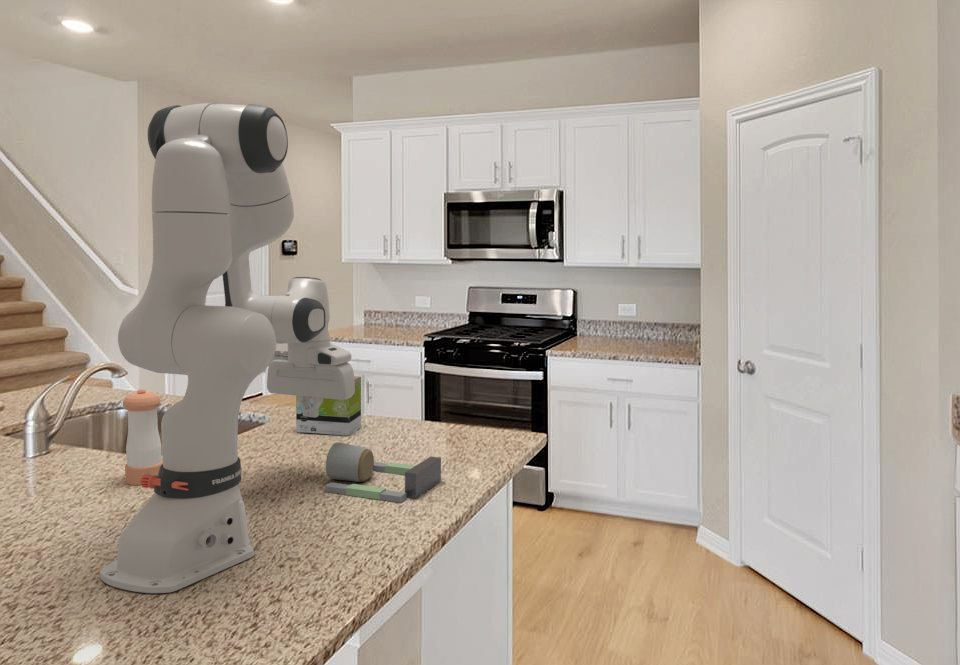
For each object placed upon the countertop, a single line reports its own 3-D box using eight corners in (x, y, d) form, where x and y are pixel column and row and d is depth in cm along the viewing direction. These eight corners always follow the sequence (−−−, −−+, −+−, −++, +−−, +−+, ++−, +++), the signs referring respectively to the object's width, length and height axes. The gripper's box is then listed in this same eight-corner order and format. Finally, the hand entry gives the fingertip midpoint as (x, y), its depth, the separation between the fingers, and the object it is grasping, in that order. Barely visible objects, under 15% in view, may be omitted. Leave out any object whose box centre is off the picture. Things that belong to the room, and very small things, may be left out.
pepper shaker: (149, 486, 141) (145, 393, 139) (117, 483, 143) (113, 391, 141) (171, 475, 148) (168, 387, 146) (141, 473, 150) (137, 385, 148)
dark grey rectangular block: (416, 498, 136) (416, 473, 135) (405, 497, 137) (405, 472, 136) (440, 480, 147) (441, 457, 147) (430, 479, 148) (430, 456, 148)
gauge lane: (400, 503, 134) (400, 495, 133) (324, 491, 139) (324, 484, 139) (439, 475, 151) (439, 468, 151) (370, 466, 157) (370, 459, 157)
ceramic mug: (360, 487, 143) (361, 450, 142) (324, 483, 145) (324, 446, 144) (382, 473, 153) (382, 438, 152) (347, 469, 155) (348, 435, 154)
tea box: (295, 433, 185) (294, 378, 184) (310, 425, 195) (310, 372, 194) (349, 436, 183) (349, 381, 181) (362, 427, 193) (361, 374, 191)
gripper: (259, 352, 150) (261, 415, 151) (342, 358, 142) (343, 424, 144) (277, 348, 155) (279, 408, 157) (358, 353, 148) (359, 417, 150)
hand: (310, 416), depth 151 cm, fingers closed
